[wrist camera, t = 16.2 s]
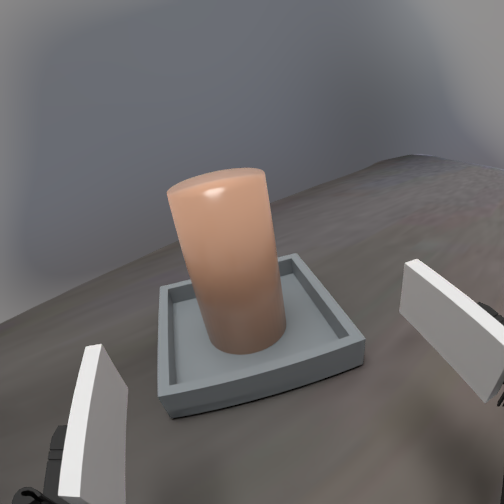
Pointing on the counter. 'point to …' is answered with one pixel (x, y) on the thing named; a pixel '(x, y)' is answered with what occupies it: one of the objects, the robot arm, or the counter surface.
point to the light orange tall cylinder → (231, 257)
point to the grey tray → (256, 364)
